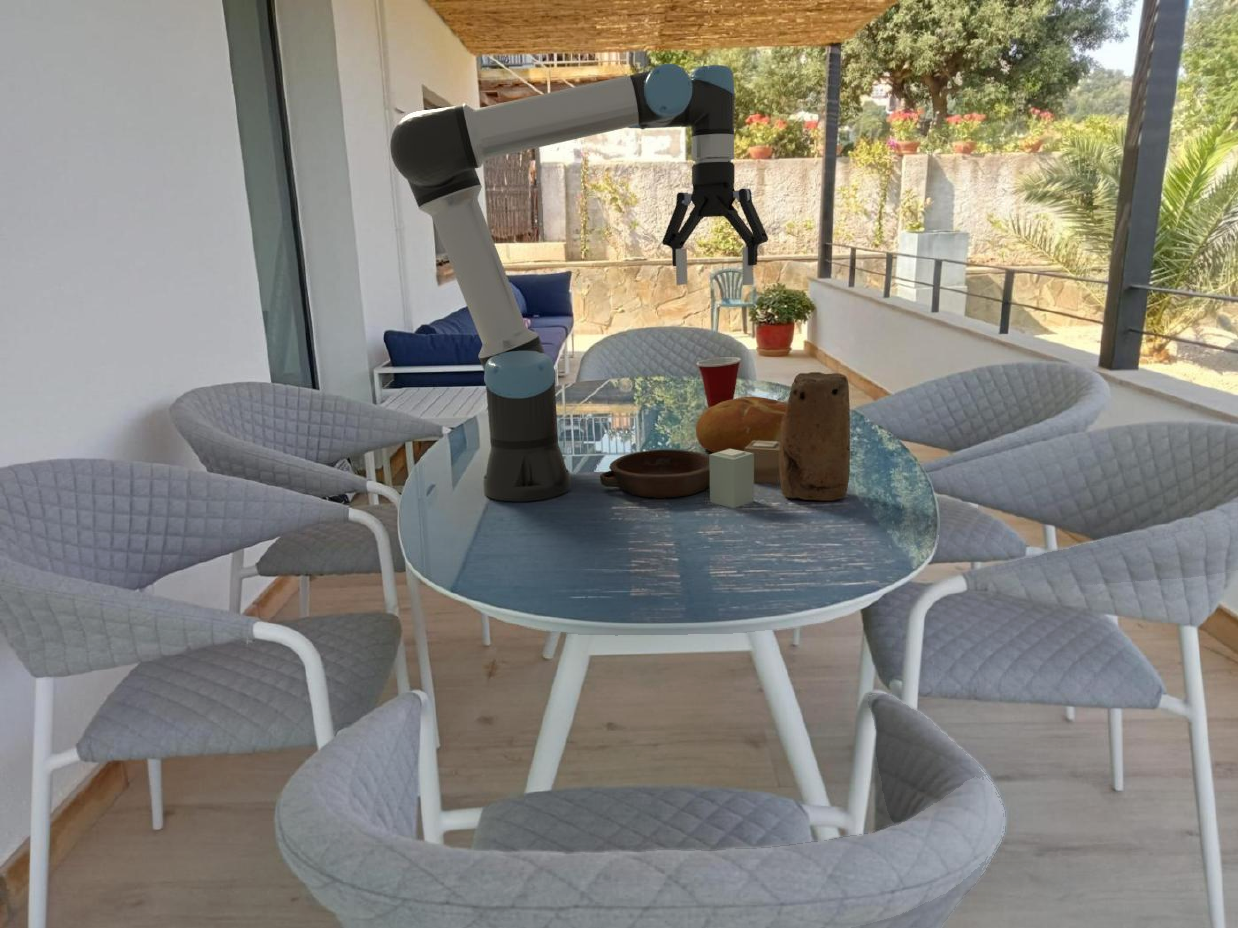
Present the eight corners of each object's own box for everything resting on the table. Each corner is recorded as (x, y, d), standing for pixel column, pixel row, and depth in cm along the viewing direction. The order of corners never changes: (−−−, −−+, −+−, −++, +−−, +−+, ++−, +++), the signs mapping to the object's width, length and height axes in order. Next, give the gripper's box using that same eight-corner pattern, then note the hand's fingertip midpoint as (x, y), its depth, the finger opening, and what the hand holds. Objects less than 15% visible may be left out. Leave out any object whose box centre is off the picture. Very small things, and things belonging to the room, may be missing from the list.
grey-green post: (733, 508, 138) (733, 457, 136) (710, 502, 142) (709, 452, 140) (753, 501, 141) (753, 451, 139) (730, 495, 145) (729, 446, 143)
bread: (806, 466, 161) (807, 413, 158) (683, 460, 169) (682, 409, 166) (820, 437, 182) (821, 390, 179) (710, 433, 189) (710, 388, 187)
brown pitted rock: (844, 489, 145) (848, 370, 140) (850, 503, 138) (854, 378, 133) (778, 489, 147) (779, 371, 142) (780, 503, 140) (781, 379, 135)
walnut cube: (778, 484, 150) (778, 448, 149) (744, 481, 153) (744, 446, 151) (785, 474, 156) (786, 440, 154) (752, 472, 158) (752, 438, 156)
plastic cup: (696, 404, 220) (695, 356, 217) (739, 403, 220) (739, 355, 217) (697, 413, 210) (696, 363, 207) (743, 411, 209) (742, 362, 206)
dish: (602, 476, 160) (601, 450, 158) (723, 473, 159) (723, 446, 158) (597, 506, 143) (596, 476, 141) (733, 502, 142) (733, 472, 141)
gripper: (787, 157, 150) (786, 283, 156) (663, 168, 164) (666, 283, 170) (768, 155, 144) (767, 286, 150) (642, 166, 158) (645, 285, 164)
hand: (714, 284), depth 160 cm, fingers open, 13 cm apart
